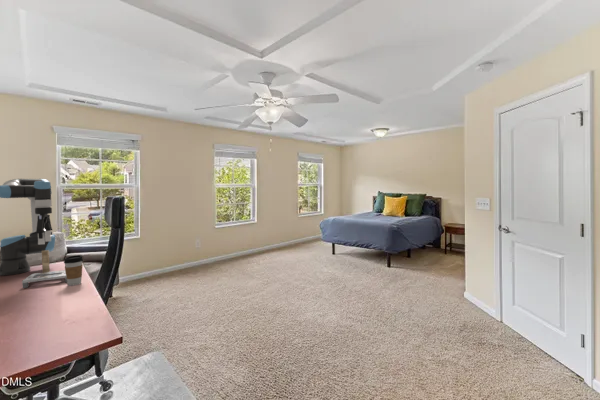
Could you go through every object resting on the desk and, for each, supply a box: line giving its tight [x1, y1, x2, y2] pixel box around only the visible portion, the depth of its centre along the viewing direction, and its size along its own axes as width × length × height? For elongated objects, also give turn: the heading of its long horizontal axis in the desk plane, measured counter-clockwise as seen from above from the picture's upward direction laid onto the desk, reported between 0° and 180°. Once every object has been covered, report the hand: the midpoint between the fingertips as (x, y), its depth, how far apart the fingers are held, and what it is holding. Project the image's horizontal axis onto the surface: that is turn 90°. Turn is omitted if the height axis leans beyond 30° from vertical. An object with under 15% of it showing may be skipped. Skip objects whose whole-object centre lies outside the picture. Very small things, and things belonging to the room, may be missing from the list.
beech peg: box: [41, 250, 51, 277], centre depth 175 cm, size 6×6×16 cm
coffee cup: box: [63, 254, 84, 287], centre depth 160 cm, size 8×8×15 cm
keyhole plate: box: [21, 269, 67, 289], centre depth 166 cm, size 16×20×4 cm
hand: (44, 242), depth 175 cm, fingers open, 13 cm apart
